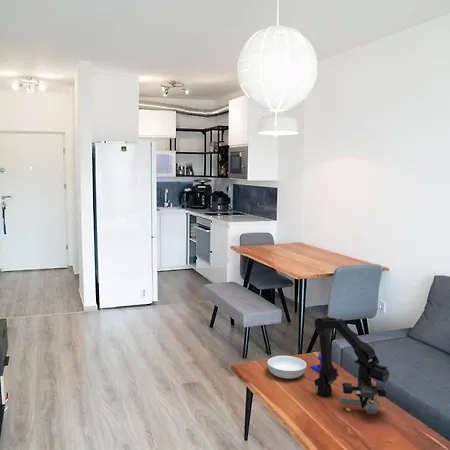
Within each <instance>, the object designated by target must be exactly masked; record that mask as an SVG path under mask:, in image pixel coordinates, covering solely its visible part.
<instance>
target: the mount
mask: <svg viewBox="0 0 450 450" xmlns="http://www.w3.org/2000/svg"><path fill="white" fill-rule="evenodd" d="M317 356H318V357H317V359H318V360H319V363H318V364H316V365H314V364H312V365H310V366H309V369H311V368H312V369H311V370H313V371H315V372H317V374H319V372H320V369H321V366H322V361H321V353H320V354H319V355H317ZM331 358H332V359H333V357H332V356H331ZM337 375H338V376H337V377H339V376H340V373H339V372H337Z"/></svg>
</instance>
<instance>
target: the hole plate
mask: <svg viewBox="0 0 450 450" xmlns="http://www.w3.org/2000/svg"><path fill="white" fill-rule="evenodd" d="M374 401H376V404H377V407H380V406H381V405H380V403H381V401H380V400H377V399H376V400H374ZM339 403H340V404H348V405H349V404H350V405H360V406H361V402H360V398H353V397H352V398H351V397H342V396H341V397H339ZM365 406H366V404H365ZM345 409H346V411H347V412H350V411H352V409H351V407H349V406H348V407H346V408H345Z"/></svg>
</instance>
